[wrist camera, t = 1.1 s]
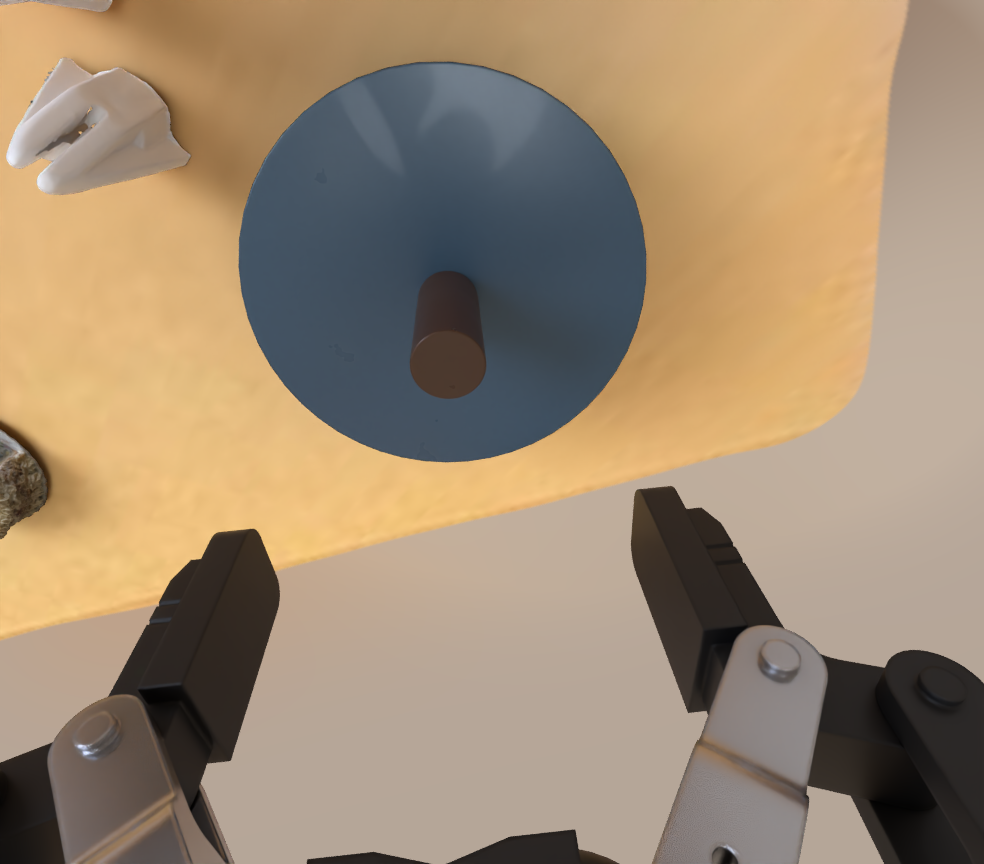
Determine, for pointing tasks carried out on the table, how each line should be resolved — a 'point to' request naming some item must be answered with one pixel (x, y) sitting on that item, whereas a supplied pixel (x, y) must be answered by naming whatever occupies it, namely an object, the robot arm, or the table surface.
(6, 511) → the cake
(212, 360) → the table surface
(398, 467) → the table surface
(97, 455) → the table surface
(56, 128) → the shaker set
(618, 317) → the lid
